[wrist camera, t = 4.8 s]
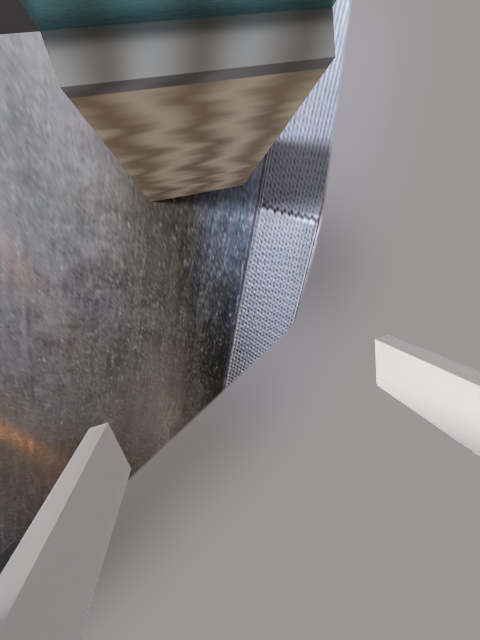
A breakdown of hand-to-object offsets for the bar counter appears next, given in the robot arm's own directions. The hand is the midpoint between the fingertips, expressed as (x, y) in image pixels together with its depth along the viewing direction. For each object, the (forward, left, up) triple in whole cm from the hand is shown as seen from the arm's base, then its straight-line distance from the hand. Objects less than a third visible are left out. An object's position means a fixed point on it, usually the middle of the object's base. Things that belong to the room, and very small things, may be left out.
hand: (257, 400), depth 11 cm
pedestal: (-16, +15, -39) cm, 45 cm away
